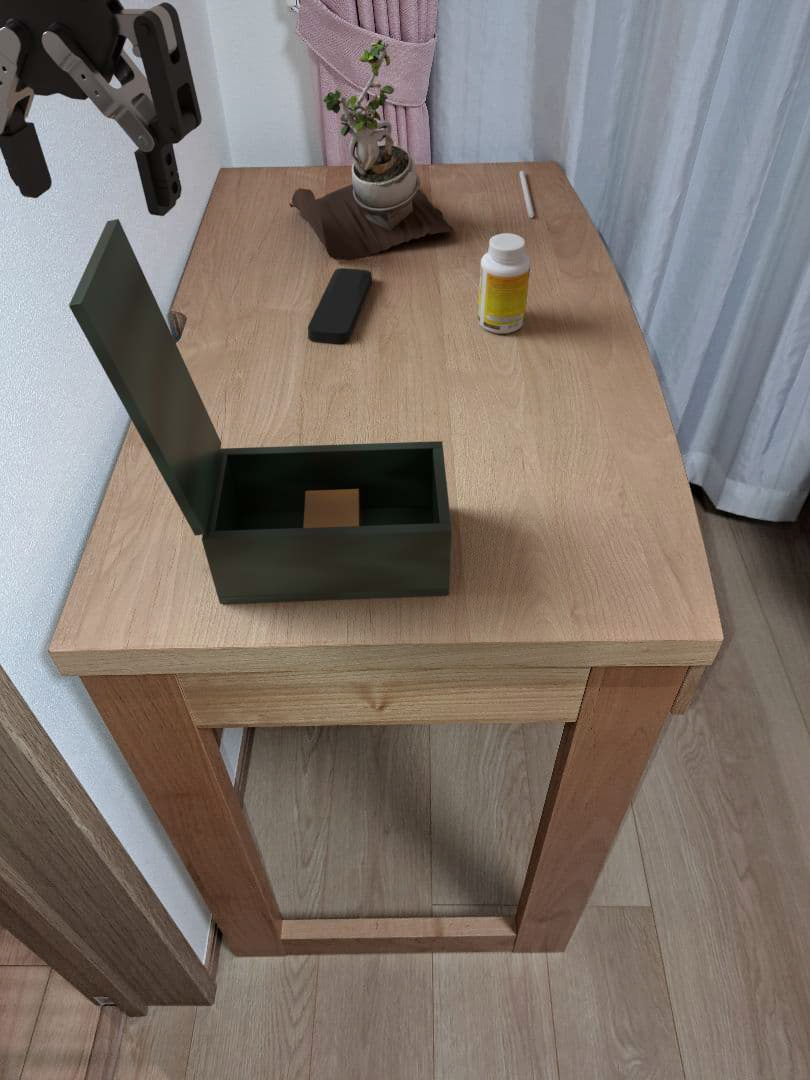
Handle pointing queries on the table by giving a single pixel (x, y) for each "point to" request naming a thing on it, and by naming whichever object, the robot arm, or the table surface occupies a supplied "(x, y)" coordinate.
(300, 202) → the potted plant
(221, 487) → the chest
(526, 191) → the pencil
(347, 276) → the remote control
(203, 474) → the lid
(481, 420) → the table surface
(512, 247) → the supplement bottle
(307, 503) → the block
